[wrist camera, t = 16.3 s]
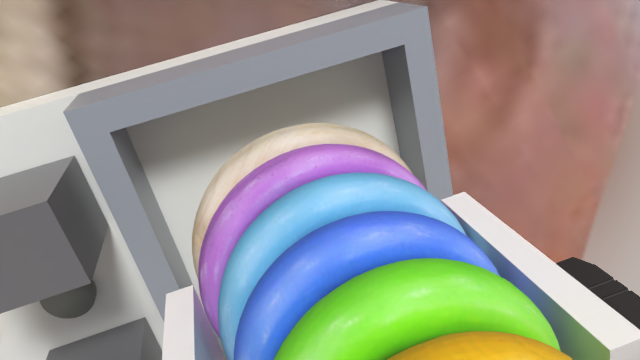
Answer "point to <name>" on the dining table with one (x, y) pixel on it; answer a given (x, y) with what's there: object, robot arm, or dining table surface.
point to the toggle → (47, 233)
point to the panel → (174, 174)
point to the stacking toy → (349, 260)
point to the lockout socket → (241, 76)
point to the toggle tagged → (113, 345)
